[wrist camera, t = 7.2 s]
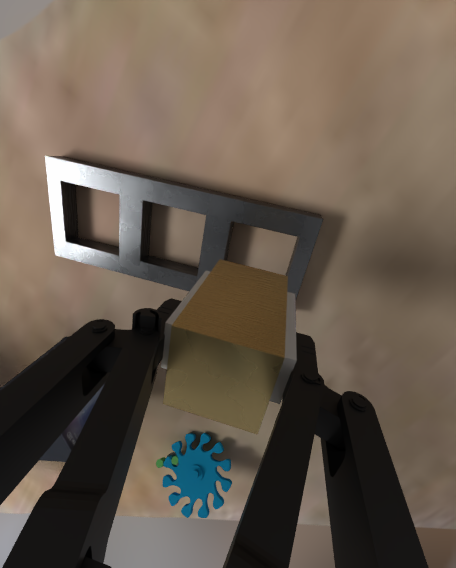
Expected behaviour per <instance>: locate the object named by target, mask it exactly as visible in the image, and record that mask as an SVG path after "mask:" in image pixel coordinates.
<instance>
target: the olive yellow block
mask: <svg viewBox="0 0 456 568" xmlns="http://www.w3.org/2000/svg"><path fill="white" fill-rule="evenodd" d="M287 287H288V276H284V275H280V274H276V273H272V272H269V271H265V270H261V269H257V268H253V267H249V266H245V265H241V264H237V263H233V262H229V261H225V260H221V259H220V260H219V261H218V262H217V264H216V265H215V267H214V268H213V269H212V271H211V272H210V273H209V275H208V276H207V278H206V279H205V280H204V282H203V283H202V284H201V286H200V287H199V289H198V290H197V291H196V293H195V294H194V295H193V297H192V298H191V300H190V301H189V302H188V304H187V305H186V306H185V308H184V309H183V311H182V312H181V313H180V315H179V316H178V318H177V319H176V320H175V322H174V323H173V324H172V327H171V336H170V346H169V355H168V364H167V373H166V382H165V391H164V400H163V404H165V405H168V406H171V407H174V408H177V409H180V410H183V411H186V412H189V413H193V414H196V415H199V416H202V417H205V418H208V419H211V420H214V421H217V422H220V423H223V424H227V425H230V426H233V427H236V428H239V429H242V430H245V431H248V432H251V433H254V434H258V431H259V428H260V425H261V423H262V420H263V417H264V414H265V411H266V409H267V406H268V403H269V400H270V397H271V395H272V392H273V389H274V386H275V383H276V381H277V378H278V375H279V372H280V370H281V367H282V364H283V361H284V358H285V337H286V312H287Z"/></svg>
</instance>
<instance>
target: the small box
mask: <svg viewBox="0 0 456 568" xmlns="http://www.w3.org/2000/svg"><path fill="white" fill-rule="evenodd" d="M68 338H69V337H64V338H63V339H62V340H61V341H60V342H59V343H57V344H56V345H55V346H54V347H52V348H51V349H50V350H48V351H47V352H46V353H45V354H43V355H42V356H41V357H40V358H38V359H37V360H36V361H34V362H33V363H32V364H31V365H29V366H28V367H27V368H25V369H24V370H23V371H22V372H21V373H20V374H18V375H17V376H16V377H14V378H13V379H12V380H10V381H9V382H7V383H6V384H5V385H4V386H3V387H1V388H0V391H1V390H2V389H4V388H5V387H6V386H7V385H9V384H10V383H11V382H13V381H14V380H15V379H16V378H18V377H19V376H20V375H21V374H23V373H24V372H25V371H27V370H28V369H29V368H30V367H32V366H33V365H34V364H36V363H37V362H38V361H39V360H41V359H42V358H43V357H45V356H46V355H47V354H48V353H50V352H51V351H52V350H53V349H55V348H56V347H57V346H59V345H60V344H61V343H62V342H64V341H65V340H66V339H68ZM103 386H104V385H103ZM103 386H102V387H101V388H100V389H99V391H98V392H97V393H96V394H95V395H94V396H93V398H92V399H91V400H90V401H89V402H88V403H87V405H86V406H85V407H84V408H83V409H82V410H81V412H80V413H79V414H78V415H77V416H76V417H75V419H74V420H73V421H72V422H71V423H70V424H69V426H68V427H67V428H66V429H65V430H64V431H63V433H62V434H61V435H60V436H59V437H58V438H57V440H56V441H55V442H54V443H53V444H52V445H51V447H50V448H49V449H48V450H47V451H46V452H45V454H44V455H43V456H42V457H41V458H40V459H39V460H45V461H59V462H66V461H67V459H68V457H69V455H70V453H71V451H72V449H73V447H74V445H75V443H76V441H77V439H78V437H79V435H80V433H81V431H82V429H83V427H84V425H85V422H86V420H87V418H88V416H89V414H90V412H91V410H92V408H93V406H94V404H95V402H96V400H97V398H98V396H99V394H100V392H101V390H102V388H103Z"/></svg>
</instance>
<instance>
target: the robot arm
mask: <svg viewBox="0 0 456 568" xmlns="http://www.w3.org/2000/svg"><path fill="white" fill-rule="evenodd" d="M209 273H210V271H205V272H204V274H203V275H202V276H201V277H200V279H199V280H198V281H197V283H196V284H195V285H194V286H193V288H192V289H191V290H190V292H189V293H188V294H187V295H186V297H185V298H184V299H183V301H179V300H175V299H172V298H171V299H169V300H167V301H165V302H164V303H163V304H162V305H161V306H160V307H159V308H158V309H157V310H155V309H151V308H144V309H139V310H137V311H135V312H134V313H133V326H132V330H118V329H115V325H114V324H113V322H111V321H109V320H104V319H99V320H94V321H90V322H89V323H87V324H85V325H84V326H83V327H82V328H80V329H79V330H78V331H77V332H75V333H74V334H73V335H71V336H70V337H69V338H68V339H66V340H65V341H64V342H62V343H61V344H60V345H59V346H57V347H56V348H55V349H53V350H52V351H51V352H50V353H48V354H47V355H46V356H45V357H43V358H42V359H41V360H39V361H38V362H37V363H36V364H34V365H33V366H32V367H30V368H29V369H28V370H27V371H25V372H24V373H23V374H21V375H20V376H19V377H18V378H16V379H15V380H14V381H13V382H11V383H10V384H9V385H7V386H6V387H5V388H4V389H2V390H1V391H0V505H1V504H2V503H3V501H4V500H5V499H6V498H7V497H8V496H9V494H10V493H11V492H12V491H13V490H14V489H15V487H16V486H17V485H18V484H19V483H20V482H21V480H22V479H23V478H24V477H25V476H26V475H27V473H28V472H29V471H30V470H31V469H32V468H33V466H34V465H35V464H36V463H37V462H38V461H39V459H40V458H41V457H42V456H43V455H44V454H45V452H46V451H47V450H48V449H49V448H50V447H51V445H52V444H53V443H54V442H55V441H56V440H57V438H58V437H59V436H60V435H61V434H62V433H63V431H64V430H65V429H66V428H67V427H68V426H69V424H70V423H71V422H72V421H73V420H74V419H75V417H76V416H77V415H78V414H79V413H80V412H81V410H82V409H83V408H84V407H85V406H86V405H87V403H88V402H89V401H90V400H91V399H92V398H93V396H94V395H95V394H96V393H97V392H98V391H99V389H100V388H101V387H102V386H103V385H104V386H103V388H102V390H101V392H100V394H99V396H98V398H97V400H96V402H95V404H94V406H93V408H92V410H91V412H90V414H89V416H88V418H87V420H86V422H85V425H84V427H83V429H82V431H81V433H80V435H79V437H78V439H77V441H76V443H75V445H74V447H73V449H72V451H71V453H70V455H69V457H68V459H67V461H66V463H65V465H64V467H63V469H62V471H61V473H60V475H59V477H58V479H57V481H56V482H55V484H54V486H53V487H52V488H51V489H49V490H47V491H45V492H44V493H43V494H42V495H41V497H40V498H39V500H38V501H37V503H36V505H35V506H34V508H33V510H32V512H31V514H30V516H29V518H28V520H27V522H26V524H25V525H24V527H23V529H22V531H21V533H20V535H19V537H18V539H17V541H16V542H15V544H14V546H13V548H12V551H11V552H10V554H9V556H8V558H7V560H6V562H5V563H4V565H3V568H111V567H110V566H108V565H105V564H103V562H104V557H105V552H106V547H107V542H108V537H109V534H110V530H111V527H112V524H113V520H114V517H115V514H116V510H117V507H118V503H119V500H120V497H121V493H122V490H123V486H124V483H125V480H126V476H127V473H128V469H129V466H130V463H131V459H132V456H133V452H134V449H135V445H136V442H137V439H138V435H139V432H140V428H141V425H142V422H143V418H144V415H145V411H146V408H147V405H148V401H149V398H150V394H151V391H152V388H153V384H154V381H155V377H156V374H157V366H158V364H159V363H160V361H161V360H162V361H161V368H165V369H167V364H168V355H169V346H170V336H171V327H172V324H173V323H174V322H175V320H176V319H177V318H178V316H179V315H180V313H181V312H182V311H183V309H184V308H185V306H186V305H187V304H188V302H189V301H190V300H191V298H192V297H193V295H194V294H195V293H196V291H197V290H198V289H199V287H200V286H201V284H202V283H203V282H204V280H205V279H206V278H207V276H208V275H209ZM282 397H283V399H282ZM281 400H282V406H281V408H280V411H279V413H278V416H277V418H276V421H275V425H274V427H273V430H272V433H271V436H270V438H269V441H268V444H267V447H266V449H265V452H264V455H263V458H262V461H261V463H260V466H259V469H258V472H257V474H256V477H255V480H254V483H253V485H252V488H251V491H250V494H249V496H248V499H247V502H246V505H245V507H244V510H243V513H242V516H241V519H240V521H239V524H238V527H237V530H236V532H235V536H234V538H233V541H232V544H231V546H230V549H229V552H228V554H227V557H226V561H225V563H224V565H223V568H288V567H289V562H290V557H291V552H292V547H293V542H294V537H295V532H296V526H297V522H298V516H299V511H300V506H301V501H302V496H303V491H304V486H305V480H306V475H307V470H308V465H309V460H310V455H311V450H312V444H313V439H314V434H316V435H317V436H319V437H320V438H321V446H322V454H323V463H324V472H325V481H326V490H327V499H328V507H329V516H330V525H331V534H332V542H333V551H334V560H335V568H428V565H427V562H426V559H425V556H424V553H423V550H422V547H421V544H420V542H419V539H418V536H417V533H416V530H415V527H414V524H413V521H412V518H411V515H410V512H409V509H408V506H407V503H406V500H405V497H404V494H403V492H402V489H401V486H400V483H399V480H398V477H397V474H396V471H395V468H394V465H393V462H392V459H391V456H390V453H389V450H388V448H387V445H386V442H385V439H384V436H383V433H382V430H381V427H380V424H379V421H378V418H377V415H376V412H375V409H374V407H373V406H372V404H371V403H370V402H369V401H368V399H367V398H365V397H364V396H362V395H361V394H358V393H356V392H351V391H348V392H344V393H343V395H342V396H341V395H340V394H338V393H336V392H334V391H332V390H331V389H329V388H328V387H327V386H325V385H324V380H323V378H322V377H321V376H320V375H319V374H318V368H317V359H316V351H315V343H314V341H313V340H312V338H311V337H310V336H307V335H304V334H300V333H297V332H296V305H295V294H294V293H290V292H287V312H286V337H285V358H284V361H283V364H282V367H281V370H280V372H279V375H278V378H277V381H276V383H275V386H274V389H273V392H272V395H271V397H270V400H269V401H272V402H275V403H278V404H280V402H281Z"/></svg>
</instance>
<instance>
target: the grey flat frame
mask: <svg viewBox="0 0 456 568" xmlns="http://www.w3.org/2000/svg"><path fill="white" fill-rule="evenodd" d="M45 161H46V170H47V180H48V190H49V199H50V209H51V219H52V229H53V238H54V248H55V255H56V256H60V257H64V258H68V259H71V260H75V261H79V262H82V263H86V264H90V265H94V266H97V267H101V268H105V269H108V270H112V271H116V272H119V273H123V274H127V275H131V276H134V277H138V278H142V279H145V280H149V281H153V282H157V283H160V284H164V285H168V286H171V287H175V288H179V289H182V290H186V291H190V290H191V289H192V288H193V286H194V285H195V284H196V283H197V281H198V280H199V279H200V277H201V276H202V275H203V274H204V272H205V271H210V272H211V271H212V269H213V268H214V267H215V265H216V264H217V262H218V261H219V260H220V259H221V260H225V261H227V256H228V250H229V245H230V240H231V235H232V230H233V225H234V222H238V223H242V224H246V225H251V226H255V227H259V228H263V229H267V230H272V231H276V232H280V233H284V234H289V235H293V236H297V241H296V244H295V247H294V250H293V254H292V257H291V260H290V263H289V267H288V270H287V273H286V276H288V287H287V292H290V293H294V294H295V301H296V298H297V295H298V292H299V289H300V286H301V283H302V280H303V277H304V274H305V271H306V268H307V266H308V263H309V260H310V257H311V254H312V251H313V248H314V245H315V242H316V239H317V236H318V233H319V230H320V227H321V224H322V222H323V218H322V216H321V215H319V214H314V213H310V212H305V211H301V210H297V209H292V208H288V207H283V206H279V205H274V204H270V203H266V202H261V201H257V200H252V199H248V198H243V197H239V196H235V195H230V194H226V193H221V192H217V191H213V190H208V189H204V188H199V187H195V186H190V185H186V184H182V183H177V182H173V181H168V180H164V179H159V178H155V177H151V176H146V175H142V174H137V173H133V172H128V171H124V170H120V169H115V168H111V167H106V166H102V165H98V164H93V163H89V162H84V161H80V160H75V159H71V158H67V157H62V156H45ZM75 184H77V185H82V186H86V187H90V188H94V189H98V190H103V191H107V192H111V193H115V194H120V222H119V247H115V246H111V245H107V244H103V243H100V242H96V241H92V240H88V239H84V238H80V237H78V222H77V205H76V189H75ZM152 202H153V203H158V204H162V205H166V206H170V207H174V208H179V209H183V210H187V211H191V212H196V213H200V214H204V215H206V221H205V228H204V235H203V242H202V248H201V255H200V262H199V268H196V267H192V266H188V265H184V264H181V263H177V262H173V261H169V260H165V259H161V258H157V257H154V256H150V255H149V245H150V228H151V211H152Z"/></svg>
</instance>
